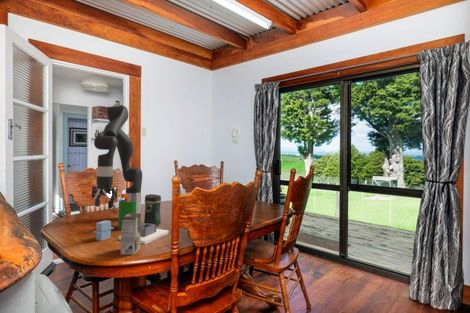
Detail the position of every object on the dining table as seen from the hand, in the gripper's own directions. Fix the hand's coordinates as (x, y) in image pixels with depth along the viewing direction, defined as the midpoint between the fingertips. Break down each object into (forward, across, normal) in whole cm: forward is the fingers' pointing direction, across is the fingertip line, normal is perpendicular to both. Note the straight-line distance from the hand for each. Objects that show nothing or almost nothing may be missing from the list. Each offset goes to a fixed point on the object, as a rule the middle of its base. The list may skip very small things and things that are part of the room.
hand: (103, 207), depth 138 cm
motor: (+16, +4, -21) cm, 27 cm away
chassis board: (+16, -16, -12) cm, 26 cm away
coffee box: (+16, -24, +8) cm, 30 cm away
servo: (+16, 0, 0) cm, 16 cm away
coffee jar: (+16, -5, -33) cm, 37 cm away
